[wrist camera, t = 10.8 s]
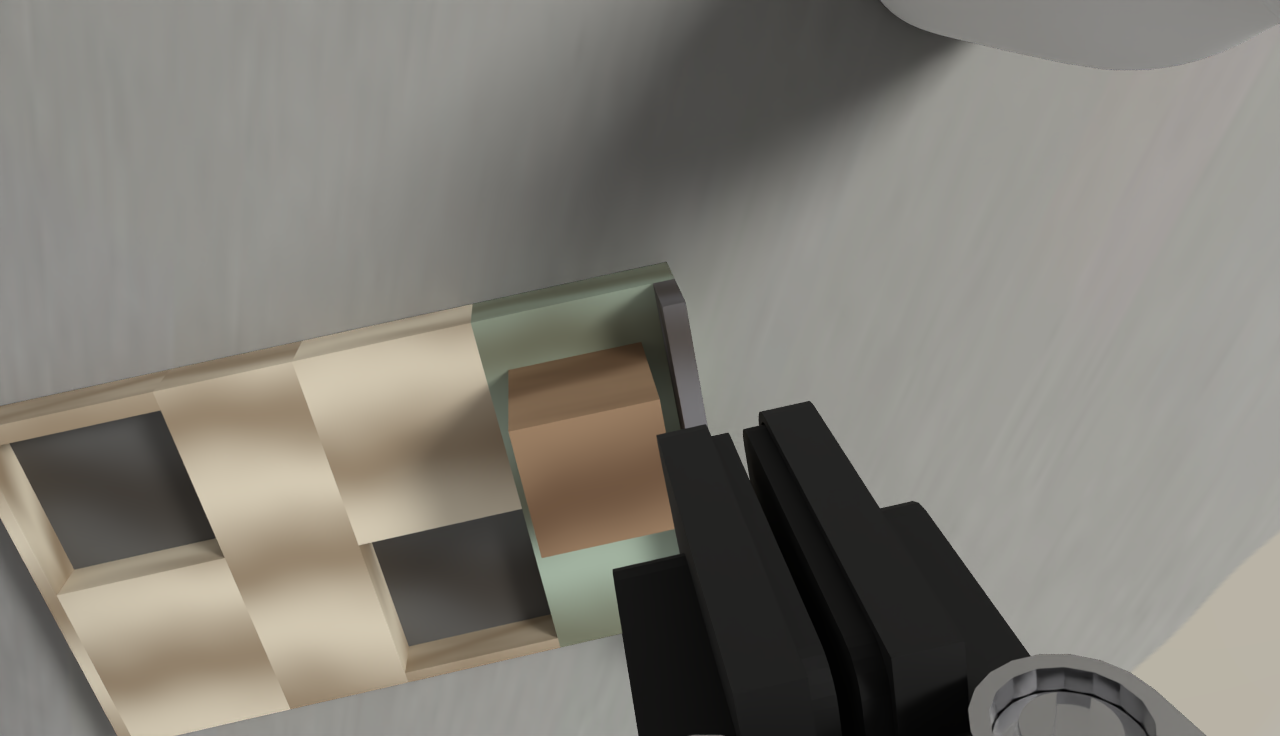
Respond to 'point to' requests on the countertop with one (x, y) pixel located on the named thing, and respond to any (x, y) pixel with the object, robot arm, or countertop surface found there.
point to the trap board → (322, 508)
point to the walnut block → (589, 448)
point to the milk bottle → (1097, 27)
